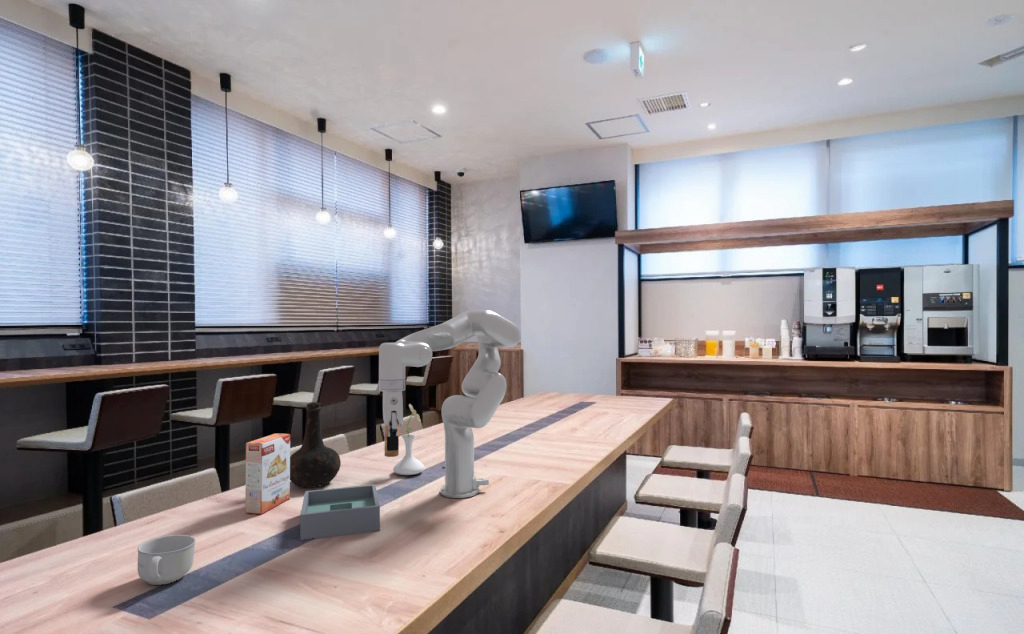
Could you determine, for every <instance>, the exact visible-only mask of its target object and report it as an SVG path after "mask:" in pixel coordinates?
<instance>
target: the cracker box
mask: <svg viewBox="0 0 1024 634" xmlns="http://www.w3.org/2000/svg"><path fill="white" fill-rule="evenodd" d="M290 456H291V434H290V433H272V434H270V435H267V436H263V437H260V438H258V439H254V440H250V441H248V442H246V443H245V514H254V515H255V514H256V515H262V514H264V513H266V512H268V511H270V510H273V509H274V508H276V507H278V506H279V505H281V504H283V503H286V502H287V501H289V500H290V499H291V498H290V496H291V492H290V491H291V480H290Z"/></svg>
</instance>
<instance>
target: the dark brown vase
mask: <svg viewBox="0 0 1024 634" xmlns="http://www.w3.org/2000/svg"><path fill="white" fill-rule="evenodd" d="M305 410H306V422H305V431H304V437H303V441H302V444H301V447H300V448H299V449H297V450H296V451H295V452H293V453H292V454H290V483H293V484H294V485H295V486H297V487H301V488H308V489H309V488H317V487H322V486H324V485H327V484H329V483H330V482H332V481H333V480H334V479H335V478H336V477H337V474H338V473H339V471H340V470H341V469H340V467H341V463H342V462H341V457H340V455H339V453H338V452H337V451H336V450H334V449H333V448H330V447H328V446H326V445H325V444H324V441H323V440H324V439H323V433H322V423H321V410H323V407H321V402H308V403H307V404H306V408H305Z"/></svg>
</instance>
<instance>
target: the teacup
mask: <svg viewBox="0 0 1024 634" xmlns="http://www.w3.org/2000/svg"><path fill="white" fill-rule="evenodd" d="M195 545H196V538H195V537H194V536H192V535H187V534H170V535H164V536H163V535H162V536H158V537H155V538H150V539H148V540H145V541H143V542H142V543H140V544H139V545H138V547H137V551H138V552H137V574H138V576H139V578H140V579H141V580H142V581H144V582H146V583H147V584H148V585H153V586H160V585H162V584H163V585H167V584H171V582H172V583H175V582H177V581H179V580H180V579H182V578H183V577H184V576H185V575H186V574H187V573H189V571H190V570H191V569H192V567H193V564H194V558H195V548H196V547H195ZM176 580H177V581H176ZM174 581H175V582H174Z"/></svg>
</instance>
